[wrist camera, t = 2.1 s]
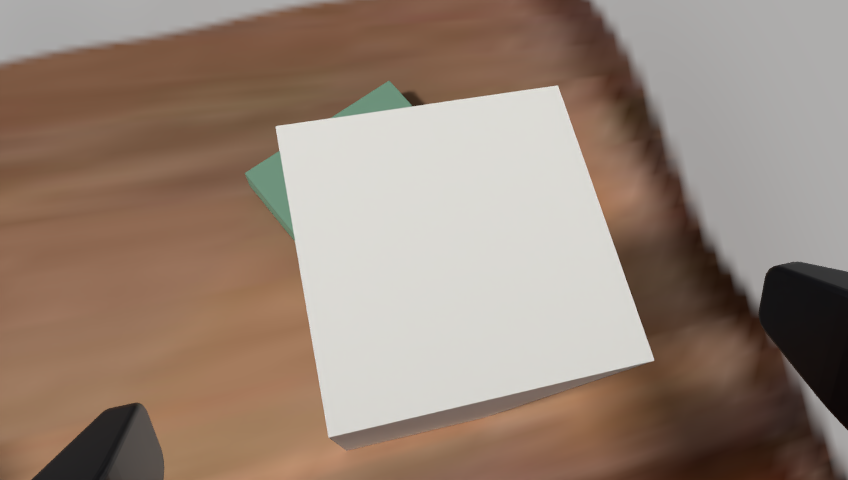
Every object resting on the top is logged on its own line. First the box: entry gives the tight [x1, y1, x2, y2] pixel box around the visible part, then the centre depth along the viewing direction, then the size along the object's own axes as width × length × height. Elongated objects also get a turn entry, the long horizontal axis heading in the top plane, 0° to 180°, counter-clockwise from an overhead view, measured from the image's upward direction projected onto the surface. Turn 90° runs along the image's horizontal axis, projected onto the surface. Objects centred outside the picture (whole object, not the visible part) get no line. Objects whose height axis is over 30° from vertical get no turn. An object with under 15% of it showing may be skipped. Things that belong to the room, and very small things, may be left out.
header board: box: [245, 81, 413, 241], centre depth 21 cm, size 5×6×3 cm
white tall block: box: [276, 86, 655, 451], centre depth 14 cm, size 5×5×12 cm
